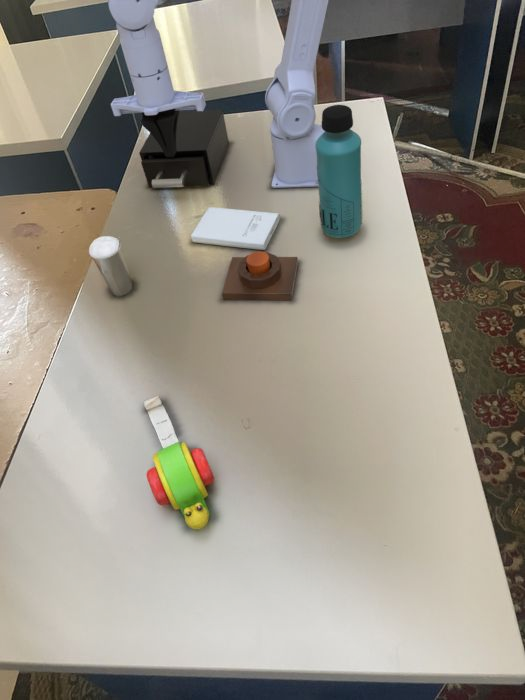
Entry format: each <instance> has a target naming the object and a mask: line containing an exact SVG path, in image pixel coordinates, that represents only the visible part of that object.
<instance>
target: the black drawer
mask: <svg viewBox="0 0 525 700" xmlns="http://www.w3.org/2000/svg"><path fill="white" fill-rule="evenodd" d="M140 164H141V167H142V171H143V173H144V176H145V179H146V182H147V186H148V188H149V189H156V188H158V189H159V188H162V189H163V188H189V187H192V188H193V187H209V186H210V185H209V179H208V171H207V167H206V163H205V158H204V154H184V155H175V156H174V157H166V156H165V155H160V156H149V159H142V160H141V162H140Z"/></svg>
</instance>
